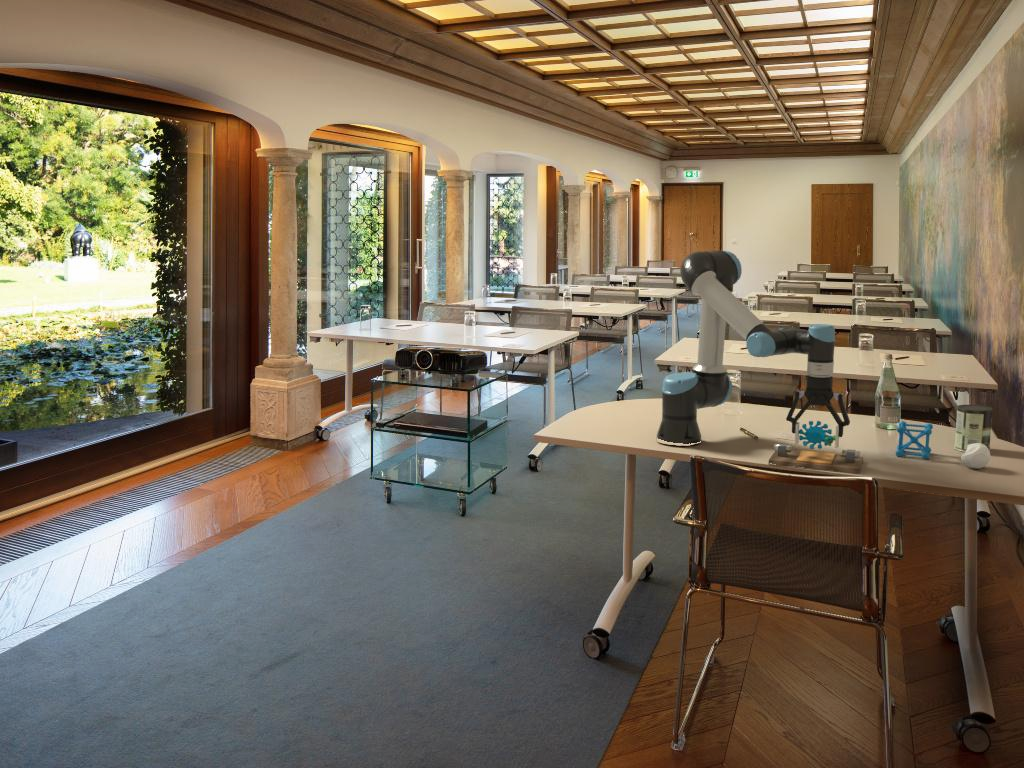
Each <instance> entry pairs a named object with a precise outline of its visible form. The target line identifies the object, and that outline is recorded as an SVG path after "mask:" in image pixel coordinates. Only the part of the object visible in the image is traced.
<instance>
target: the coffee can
mask: <svg viewBox="0 0 1024 768" xmlns="http://www.w3.org/2000/svg"><path fill="white" fill-rule="evenodd" d="M993 412H994V408H993V407H990V406H987V405H982V404H981V405H979V404H959V405H957V406H956V422H955V423H956V424H955V438H954V450H955V449H956V450H955V451H958V452H961V451H962V452H961V453H965V452H966V450H967V445H969V444H974V443H981V444H984V445H985V446H986V447H987V448H988V449H989V451H990V449H991V448H990V447H991V436H992V435H991V434H992V424H993V423H992V420H993ZM990 452H991V451H990Z"/></svg>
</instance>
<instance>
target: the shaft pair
mask: <svg viewBox="0 0 1024 768" xmlns="http://www.w3.org/2000/svg"><path fill="white" fill-rule="evenodd" d="M773 445H774V446H773V450H774V452H775V451H778V456H780V457H786V456H787V452H791V450H792V447H793V446H792V445H790V444H788V443H774V444H773ZM841 455H842V457H846V463H853V464H854V463H855V458H858V459H860V456H861V451H859V450H855V449H847V450H846V449H842V451H841Z"/></svg>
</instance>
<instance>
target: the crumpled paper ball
mask: <svg viewBox="0 0 1024 768" xmlns="http://www.w3.org/2000/svg"><path fill="white" fill-rule="evenodd" d="M989 450H990V449H988V448H987V447H986V446H985V445H984V444H981V443H974V444H969V445H967V450H966V452H963V453H962V455H961V456H960V458H961V461H962V464H963V465H964V466H966V467H968V468H970V469H974V470H976V469H982V468H984V467H986V466H987V465H988V464H989V462H990V461H991V451H989Z"/></svg>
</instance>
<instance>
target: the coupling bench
mask: <svg viewBox="0 0 1024 768" xmlns="http://www.w3.org/2000/svg"><path fill="white" fill-rule="evenodd" d="M863 460H864V456H861V455H860V459H858V458H855V463H854V464H853V463H846V457H842V454H838V453H837V454H836V453H835V452H834V453H833V452H824V451H813V450H803V449H802V450H795V449H793V450H792V449H791V452H787V456H786V457H780V456H778V451H774V452H773V453H772V455H771V456H770V458H769V459H768V464H769V463H772V464H776V465H775V466H777V465H779V467H787V466H795V467H794V468H797V467H804V468H803V469H807V468H811V469H810V470H818V471H827V470H833V471H832V472H837V471H840V473H847V474H848V473H849V474H858V473H859V474H860V471H861V469H860V468H862V464H863Z"/></svg>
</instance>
